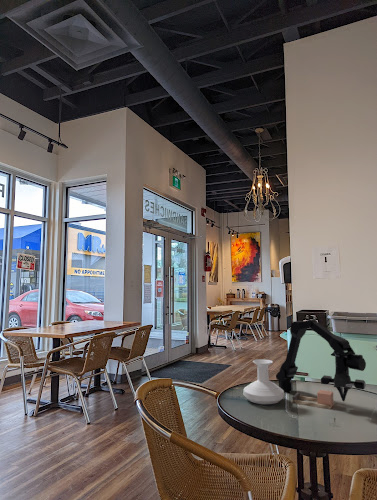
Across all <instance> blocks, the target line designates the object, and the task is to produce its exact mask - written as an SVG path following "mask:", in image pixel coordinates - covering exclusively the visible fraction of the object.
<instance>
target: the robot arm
mask: <svg viewBox="0 0 377 500" xmlns="http://www.w3.org/2000/svg"><path fill="white" fill-rule="evenodd" d="M309 329H310V330H312V331H313V332H314V333H316V334H317V335H318V336H320V337H321V338H322V339H324V340H325V341H326V342H327V344H328V345H329V347H330V348H331V349H332V350H333V352H332V353H331V354H330V356H332V357H334V361H335V362H334V363H335V374H334V377H332V376H331V375H323V376H322V377H321V378H320V384H322V385H329V384H330V383H333V387H334V388H336V389H337V391H338V393H339V396H340V398H341V401H342V402H345V401H346V399H347V398H346V397H347V394H348V392H349V390H351V389H352V388H353V386H354V388H356V389H359V390H365V389H366V387H367V386H366V381H365V380H364V379H357V378H356V379H355V380H354V381H353V380H351V376H350V369H351V370H356V371H361V372H363V371H365V370H366V366H367V362H366V360H365V358H364V357H363V354H356V352H355V351H354V350H353V348H352V347H351V345H350V341H349V340H348V339H346V338H344V337H341V336H339V335H336V334H334V333H333V332H332V331H330V330H329V329H328V328H326V327H325V326H323V325H322V324H321V323H320V322H318V321H317V320H316V319H307V320H295V321H292V322H291V323H290V329H289V330H290V336H291V337H290V342H289V345H288V348H287V349H288V350H287V353H286V358H285V360H284V362H283V363H282V364H281V366H280V368H279V371H278V372H277V373H276V375H275V378H276V380H278V386H279V387H280V388H281V389H283V390H284V393H288V394H289V393H291V392H292V391H294V387H293V385H294V384H293V383H294V382H293V379H294V378H295V376H296V375H297V374H298V373H297V372H298V368H299V367H298V366H297V365H296V360H297V359H296V358H297V355H298V352H299V347H300V345H301V344H300V343H301V339H302V338H303V337H304V336H305V334H306V332H307V330H309Z"/></svg>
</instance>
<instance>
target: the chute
mask: <svg viewBox="0 0 377 500" xmlns="http://www.w3.org/2000/svg"><path fill="white" fill-rule="evenodd" d="M291 403H292V404H298V405H303V406H309V407H315V408H322V409H328V410H331V409H332V408H331V406H330V405H324V404H318V398H317V397H310V396H303V395H301V392H299V391H298V392H296V393H295V394H294V395H293V396H292V399H291Z"/></svg>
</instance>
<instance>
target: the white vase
mask: <svg viewBox="0 0 377 500" xmlns="http://www.w3.org/2000/svg"><path fill="white" fill-rule="evenodd" d="M252 363H253V364H255V365H256V367H257V368H256V370H257V380H254V381H252V382H251V383H249V384H248V385H247V386H245V387H244V388H243V390H242V391H243V396H244V397H245V398H246V399H247V400H248V401H249V402H251V403H254V404H258V405H274V404H277V403H279V402H280V401H282V400H283V399H284V398H285V392H284V390H283V389H281V388H280V387H279V384H278V385H277V384H276V383H274V382H273V381H271V380H270V378H269V366H270V365H271V364H273V363H274V362H273V360H270V359H265V358H263V359H261V358H260V359H253V360H252Z"/></svg>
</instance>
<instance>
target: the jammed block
mask: <svg viewBox="0 0 377 500" xmlns="http://www.w3.org/2000/svg"><path fill="white" fill-rule="evenodd" d="M316 396H317V397H316V398H318V402H317V403H318V404H324V405H330V406H331V409H332V408H333V406H334V404H335V401H334V391H332V390H331V391H330V390H323V389H319V390H318V392H317V394H316Z"/></svg>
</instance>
